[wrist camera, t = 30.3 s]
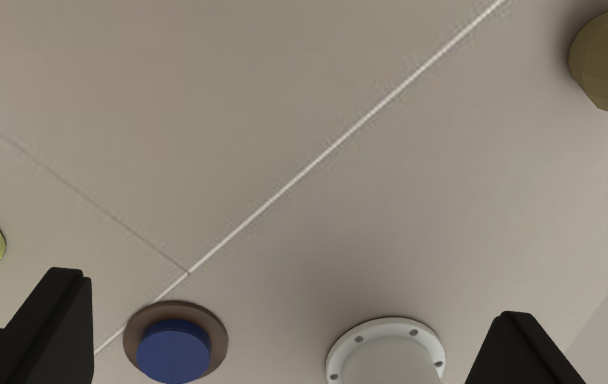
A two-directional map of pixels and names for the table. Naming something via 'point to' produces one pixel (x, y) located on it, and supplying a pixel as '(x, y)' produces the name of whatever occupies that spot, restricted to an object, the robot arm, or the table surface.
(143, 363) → the jar lid
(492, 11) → the table surface
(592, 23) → the squeeze bottle
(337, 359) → the robot arm
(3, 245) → the tube
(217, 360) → the coaster
